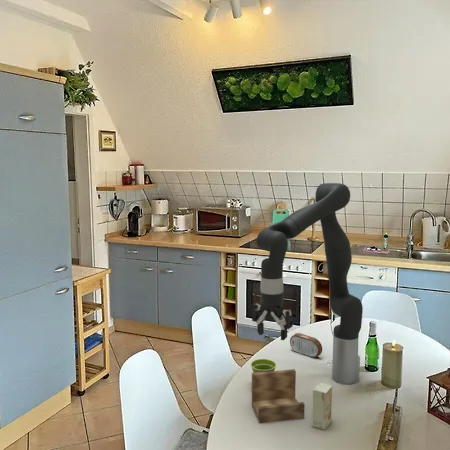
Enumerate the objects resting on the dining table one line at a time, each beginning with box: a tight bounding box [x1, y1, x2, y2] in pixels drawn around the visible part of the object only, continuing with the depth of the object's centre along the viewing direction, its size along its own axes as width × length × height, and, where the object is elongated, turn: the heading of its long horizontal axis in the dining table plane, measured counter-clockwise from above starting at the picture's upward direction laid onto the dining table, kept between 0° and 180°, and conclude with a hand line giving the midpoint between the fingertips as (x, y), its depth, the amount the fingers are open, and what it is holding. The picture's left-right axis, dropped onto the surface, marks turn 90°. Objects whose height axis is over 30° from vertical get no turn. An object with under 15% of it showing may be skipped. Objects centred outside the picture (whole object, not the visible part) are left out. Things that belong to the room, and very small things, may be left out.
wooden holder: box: [251, 368, 305, 424], centre depth 153 cm, size 15×10×12 cm
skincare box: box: [311, 382, 333, 430], centre depth 146 cm, size 6×4×12 cm
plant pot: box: [250, 358, 277, 373], centre depth 171 cm, size 9×9×9 cm
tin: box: [289, 332, 323, 359], centre depth 199 cm, size 15×3×8 cm, turn 47°
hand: (272, 336), depth 155 cm, fingers open, 8 cm apart
